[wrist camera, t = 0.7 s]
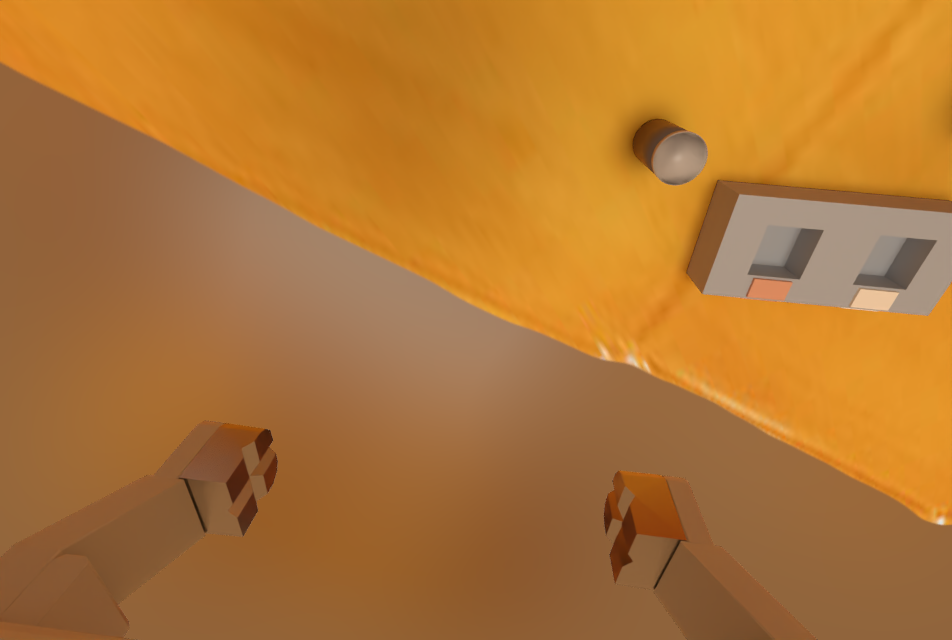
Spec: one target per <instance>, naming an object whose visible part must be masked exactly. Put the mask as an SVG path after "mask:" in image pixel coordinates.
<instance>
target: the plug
mask: <svg viewBox="0 0 952 640" xmlns="http://www.w3.org/2000/svg"><path fill="white" fill-rule="evenodd" d="M633 151H634V154H635V156H636V157H637V158H638V159H639V160H640V161H641V162H642V163H643V164H644V165H645V166H647V167H648V168H649V169H650V170H651V171H652V172H653V173H654V174H655V175H656V176H657V177H658V178H659V179H660V180H661V181H662V182H664V183H666V184H669V185H681V184H685V183H687V182H689V181H691V180H693V179H694V178H695V177H696V176H697V175H698V174H699V173H700V172H701V171H702V169H703V168H704V166H705V163H706V160H707V155H708V151H707V146H706V144H705V142H704V140H703V139H702V138H701V137H700V136H699V135H697V134H695V133H693V132H690V131H687V130H685V129H683V128H681V127H679V126H676V125H674V124H672V123H670V122H668V121H666V120H663V119H654V120H651V121H648V122H647V123H645V124H644V125H642V126H641V127H640V128H639V130H638V131H637V132H636V134H635V136H634V140H633Z"/></svg>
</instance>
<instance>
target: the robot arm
mask: <svg viewBox="0 0 952 640" xmlns="http://www.w3.org/2000/svg"><path fill="white" fill-rule="evenodd" d="M272 441H273V438H272V435H271V431H270V430H268V429H263V428H256V427H249V426H243V425H235V424H229V423H220V422H213V421H203V422H201V423H199V424H198V425H197V426H196V427H195V428H194V429H193V430H192V431H191V433H190V434H189V435H188V436H187V437H186V439H184V441H183V442H182V443H181V444H180V445H179V447H177V449H176V450H175V451H174V452H173V453H172V454H171V456H170V457H169V458H168V459H167V460H166V461H165V463H164V464H163V465H162V466H161V467H160V468H159V469H158V471H157V472H156V473H155V474H154V475H146V476H144V477H142V478H140V479H138V480H136V481H134V482H132V483H130V484H128V485H127V486H125V487H123V488H121V489H119V490H117V491H115V492H113V493H111V494H109V495H107V496H105V497H104V498H102V499H100V500H98V501H96V502H94V503H92V504H90V505H88V506H86V507H84V508H83V509H81V510H79V511H77V512H75V513H73V514H71V515H69V516H67V517H65V518H63V519H61V520H60V521H58V522H56V523H54V524H52V525H50V526H48V527H46V528H44V529H42V530H41V531H39V532H37V533H35V534H33V535H31V536H29V537H27V538H25V539H23V540H21V541H20V542H18V543H16V544H14V545H13V546H12V547H11V548H10V549H9V550H8V551H7V552H6V553H5V554H4V555H3V556H1V557H0V640H135V639H129V638H124V636H125V634H126V633H127V631H128V630H129V621H128V619H127V618H126V616H125V615H124V613H123V612H122V610H121V609H120V607H119V606H118V604H119V603H120V602H122V601H123V600H124V599H126V598H127V597H128V596H129V595H131V594H132V593H133V592H134V591H136V590H137V589H138V588H139V587H141V586H142V585H143V584H144V583H146V582H147V581H148V580H150V579H151V578H152V577H153V576H155V575H156V574H157V573H159V572H160V571H161V570H162V569H163V568H165V567H166V566H167V565H169V564H170V563H171V562H172V561H174V560H175V559H176V558H178V557H179V556H180V555H181V554H183V553H184V552H185V551H186V550H188V549H189V548H190V547H191V546H193V545H194V544H195V543H196V542H198V541H199V540H200V539H202V538H203V537H204V536H205V533H209V534H220V535H229V536H240V537H243V536H244V534H245V533H246V531H247V529H248V527H249V526H250V524H251V522H252V520H253V519H254V517H255V515H256V513H257V512H258V508H257V502H256V501H257V500H259V499H260V498H262V497H263V496H265V495H266V494H267V493H268V492H269V490H270V488H271V487H272V485H273V483H274V479H275V476H276V473H277V463H278V461H277V456H276V453H275V452H274V451H273V450H272V449H271V448H270V447H269V446H270V445H271V443H272ZM612 482H613V487H614V490H613V491H612V492H610V493H608V495H607V498H606V502H605V507H604V526H605V532H606V536H607V537H608V539H609V540H610V541H611V542H612V543H613V547H612V549H611V552H610V554H609V555H610V560H611V566H612V571H613V577H614V581H615V584H617V585H624V586H630V587H637V588H643V589H649V590H654V594H655V595H656V596H657V598H658V599H659V601H660V602H661V603H662V605H663V606H664V608H665V609H666V611H667V612H668V614H669V615H670V616H671V617H672V619H673V621H674V622H675V623H676V625H677V626H678V628H679V629H680V630H681V632H682V633H683V635H684V636H685V638H686V639H687V640H817V639H816V638H815V637H814V636H813V635H812V634H811V633H810V632H809V631H808V630H807V629H806V628H805V627H804V626H803V625H802V624H801V623H800V622H799V621H798V620H797V619H796V618H795V617H794V616H793V615H792V614H791V613H790V612H788V611H787V610H786V609H785V608H784V607H783V606H782V605H781V604H780V603H779V602H778V601H777V600H776V599H775V598H774V597H773V596H772V595H771V594H770V593H769V592H768V591H767V590H766V589H765V588H764V587H763V586H762V585H761V584H760V583H759V582H758V581H757V580H755V579H754V578H753V577H752V576H751V575H750V574H749V573H748V572H747V571H746V570H745V569H744V568H743V567H742V566H741V565H740V564H739V563H738V562H737V561H736V560H735V559H734V558H733V557H732V556H731V555H730V554H729V553H728V552H727V551H726V550H724V549H723V548H722V547H721V546H718V545H714V544H713V542H712V539H711V537H710V534H709V532H708V529H707V527H706V524H705V522H704V519H703V517H702V514H701V512H700V509H699V507H698V504H697V502H696V499H695V497H694V494H693V492H692V489H691V487H690V484H689V482H688V481H687V480H686V479H685V478H680V477H679V478H678V477H671V476H660V475H656V474H645V473H637V472H628V471H617V472H616V473H615V476H614V478H613V481H612Z"/></svg>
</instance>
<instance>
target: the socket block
mask: <svg viewBox="0 0 952 640" xmlns="http://www.w3.org/2000/svg"><path fill="white" fill-rule="evenodd" d="M686 273H687V274H688V276H689V277H690V278H691V279H692V281H693V282H694V283H695V285H696V286H697V287H698V289H699V290H700V291H701V293H702V294H709V295H719V296H730V297H740V298H744V299H754V300H764V301H775V302H777V301H781V302H792V303H802V304H813V305H823V306H833V307H840V308H847V309H858V310H868V311H885V312H895V313H906V314H916V315H927V316H928V315H929V314H930V312H931V311H932V310H933V308H934V307H935V305H936V304H937V302H938V301H939V299H940V298H941V296H942V295H943V294H944V292H945V291H946V289H947V288H948V286H949V285H950V283H951V282H952V201H948V200H936V199H925V198H913V197H902V196H891V195H879V194H868V193H856V192H845V191H834V190H822V189H811V188H799V187H788V186H777V185H765V184H754V183H742V182H731V181H720V180H718V182H717V185H716V188H715V191H714V194H713V197H712V199H711V202H710V205H709V208H708V211H707V214H706V217H705V220H704V223H703V226H702V229H701V232H700V235H699V237H698V240H697V243H696V246H695V249H694V252H693V255H692V258H691V261H690V264H689V267H688V270H687V272H686Z"/></svg>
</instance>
